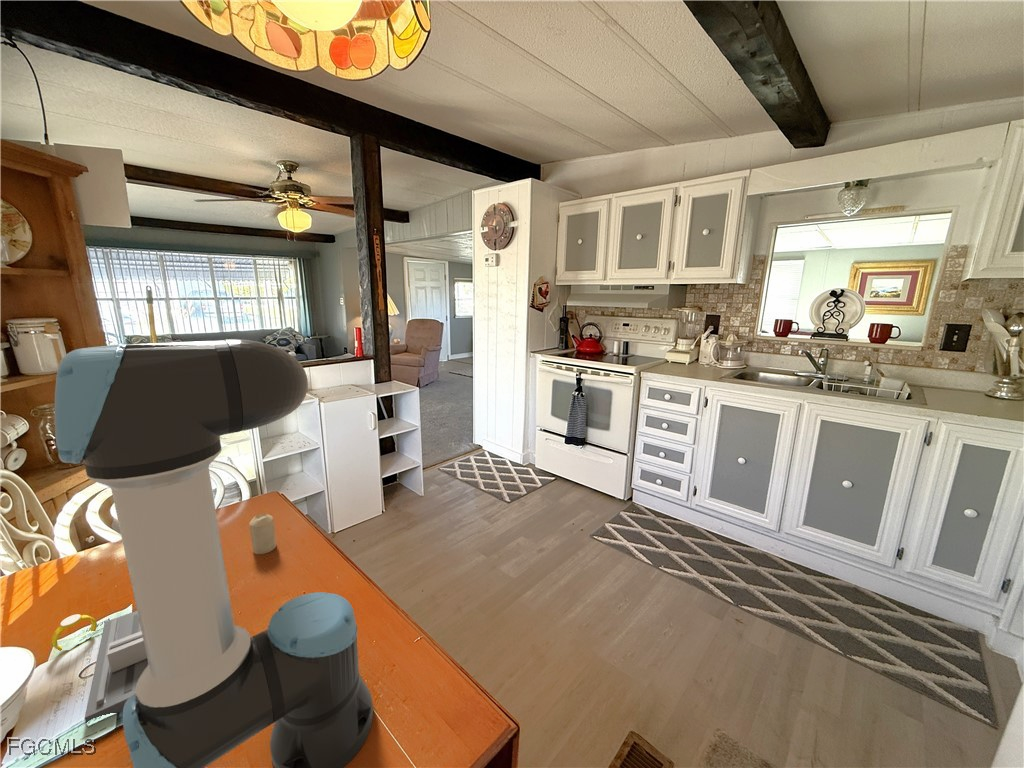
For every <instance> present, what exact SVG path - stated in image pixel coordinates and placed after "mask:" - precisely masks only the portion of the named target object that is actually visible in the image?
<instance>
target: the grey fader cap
mask: <svg viewBox="0 0 1024 768" xmlns="http://www.w3.org/2000/svg"><path fill="white" fill-rule="evenodd" d="M107 657H108V661H109V665H110V669H111V673H113V672H115V671H118V670H120V669H122V668H125V667H127V666H130V665H132V664H135V663H137V662H139V661H142V660H144V659H147V655H146V650H145V645H144V640H143V636H142V631H140V632H138V633H135V634H132V635H130V636H127V637H125V638H122V639H119V640H117V641H114V642H111V643H109V647H108V653H107Z"/></svg>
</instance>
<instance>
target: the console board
mask: <svg viewBox="0 0 1024 768" xmlns="http://www.w3.org/2000/svg"><path fill="white" fill-rule="evenodd" d="M140 631H141V626H140V622H139V617H138V612H137V610H135V611H132V612H129V613H126V614H124V615H123V614H122V615H120V616H118V617H116V618H115V617H114V618H112V619H109V620H107V621H104V624H103V629H102V633H101V637H100V644H99V647H98V653H97V657H96V662H95V667H94V671H93V676H92V681H91V685H90V691H89V695H88V699H87V700H88V701H87V704H86V709H85V714H84V721H85V724H86V723H87V722H88V721H89V720H91V719H93V718H96V717H99V716H102V715H106V714H110V713H117V714H119V713H123V707H124V704H125V702H126V701H127V700H128V699H129V698H130V697H131V696H132V695H134V694H135V693H136V684H137V682H138V679H139V678H140V676H141V674H142V673H143V671H144V670H145V669H146V667H147V666H148V665H149V664H148V659H144V660H142V661H139V662H137V663H135V664H132V665H130V666H127V667H125V668H122V669H120V670H118V671H115V672H113V673H111V669H110V665H109V661H108V657H107V653H108V647H109V643H111V642H114V641H117V640H119V639H122V638H125V637H127V636H130V635H132V634H135V633H138V632H140ZM118 712H119V713H118Z"/></svg>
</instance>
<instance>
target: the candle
mask: <svg viewBox="0 0 1024 768" xmlns="http://www.w3.org/2000/svg"><path fill="white" fill-rule="evenodd" d="M248 524H249V531H250V537H251V538H250V540H251V546H252V552H253V554H256V555H264V554H267V553H270V552H272V551H274V549H276V547H277V538H276V530H275V522H274V517H273V516H272V515H270V514H268V513H266V512H265V513H262V514H255V515H254V517H253V518H252V519H251V521H250V522H249V523H248Z"/></svg>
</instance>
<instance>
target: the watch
mask: <svg viewBox="0 0 1024 768" xmlns="http://www.w3.org/2000/svg"><path fill="white" fill-rule="evenodd" d="M82 620H89V621H90V622H91V625H90V628H89V631H90V630H91V631H95V632H96V630H97V627H98V623H97V621H96V618H94V617H92V616H90V615H88V614H82V615H81V614H79V613H77V614H72V615H70V616H68V617H66V618H64V619H63V620H62V621H61V622H60V626H58V628H56V630H55V631H54V633H53V634H52V637H51V640H50V641H51V646H52V647H53V648H55V649H56V650H58V651H59V652H62V651H61V650H62V647H63V646H59V645H58V639H59V637H60V635H61V633H62V632H64V631H65V630H66V629H68V628H71V627H73V626H77V624H79V623H80V622H82Z"/></svg>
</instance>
